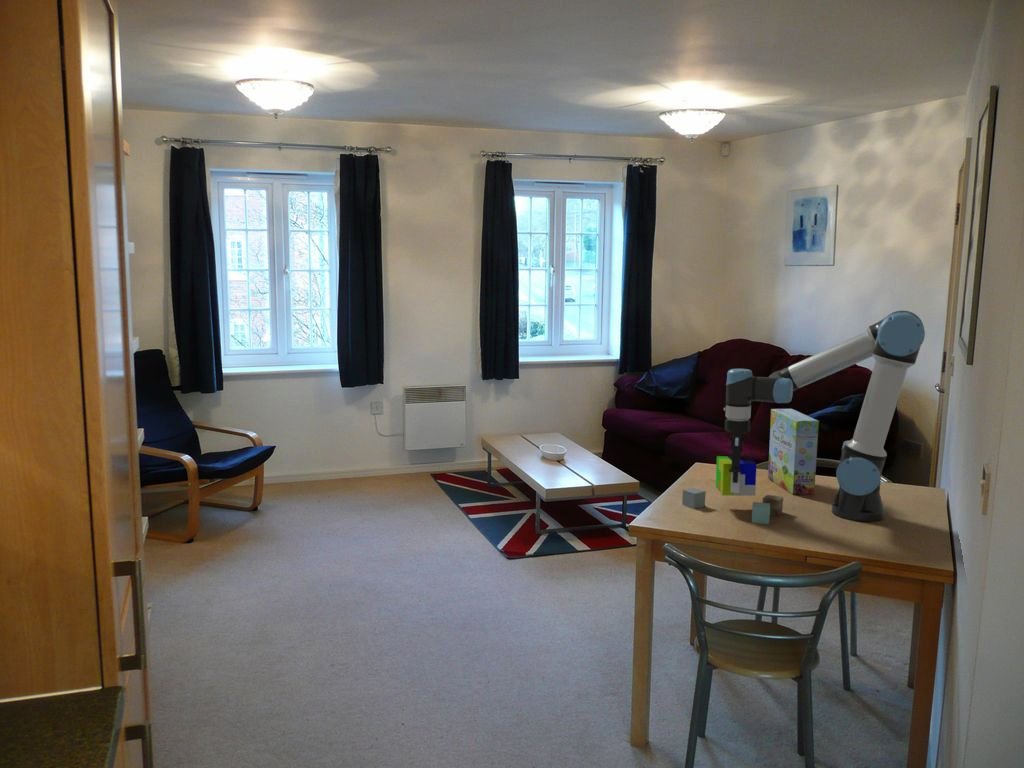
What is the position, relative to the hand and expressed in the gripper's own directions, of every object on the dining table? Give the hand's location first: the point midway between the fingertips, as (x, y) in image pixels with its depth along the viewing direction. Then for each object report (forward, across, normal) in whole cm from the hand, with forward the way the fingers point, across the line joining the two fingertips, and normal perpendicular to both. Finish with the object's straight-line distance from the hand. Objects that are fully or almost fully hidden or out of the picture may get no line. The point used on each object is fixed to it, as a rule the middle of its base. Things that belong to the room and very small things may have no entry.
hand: (735, 487), depth 266 cm
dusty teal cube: (+7, +9, +8) cm, 14 cm away
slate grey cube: (+7, 0, -13) cm, 14 cm away
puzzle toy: (+1, 0, 0) cm, 1 cm away
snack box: (+8, -34, +18) cm, 40 cm away
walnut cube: (+7, 0, +11) cm, 14 cm away
